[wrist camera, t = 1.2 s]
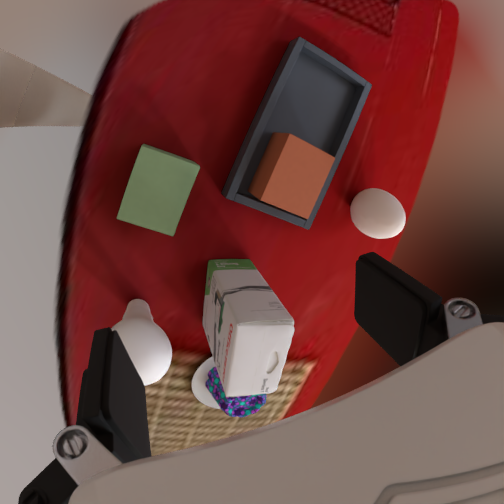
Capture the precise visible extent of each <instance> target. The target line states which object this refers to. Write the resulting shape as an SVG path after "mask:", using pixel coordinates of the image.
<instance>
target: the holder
mask: <svg viewBox="0 0 504 504" xmlns="http://www.w3.org/2000/svg"><path fill="white" fill-rule="evenodd" d="M371 86H372V85H371V84H370V83H369V82H368V81H366V80H365V79H363V78H362V77H361V76H359V75H358V74H357V73H355V72H354V71H352V70H351V69H349V68H348V67H347V66H345V65H344V64H342V63H341V62H339V61H338V60H336V59H335V58H333V57H332V56H330V55H329V54H327V53H326V52H324V51H322V50H321V49H319V48H318V47H316V46H314V45H313V44H311V43H309V42H308V41H306V40H305V39H303V38H301V37H297V38H296V39H294V40H292V41H290V43H289V45H288V47H287V49H286V51H285V53H284V55H283V58H282V60H281V62H280V64H279V66H278V68H277V70H276V72H275V74H274V76H273V78H272V80H271V82H270V84H269V87H268V89H267V91H266V93H265V95H264V97H263V99H262V102H261V104H260V106H259V108H258V110H257V112H256V115H255V117H254V119H253V121H252V123H251V126H250V128H249V130H248V132H247V134H246V137H245V139H244V141H243V144H242V146H241V148H240V150H239V153H238V155H237V157H236V160H235V162H234V164H233V167H232V169H231V171H230V174H229V176H228V178H227V181H226V183H225V185H224V188H223V190H222V193H221V194H222V195H223V196H224V197H225V198H227V199H230V200H232V201H235V202H238V203H241V204H243V205H246V206H249V207H251V208H254V209H256V210H259V211H262V212H264V213H267V214H270V215H272V216H275V217H277V218H280V219H283V220H285V221H288V222H290V223H293V224H295V225H298V226H300V227H303V228H305V229H308V230H309V229H310V227H311V224H312V222H313V220H314V218H315V216H316V214H317V211H318V209H319V207H320V205H321V203H322V200H323V198H324V196H325V194H326V192H327V189H328V187H329V185H330V183H331V180H332V178H333V176H334V174H335V171H336V169H337V167H338V165H339V162H340V160H341V158H342V155H343V153H344V151H345V149H346V146H347V144H348V142H349V139H350V137H351V134H352V132H353V130H354V127H355V125H356V123H357V120H358V118H359V115H360V113H361V111H362V108H363V106H364V103H365V101H366V98H367V96H368V94H369V91H370V89H371ZM273 132H277V133H290V134H292V135H294V136H296V137H298V138H300V139H302V140H304V141H306V142H308V143H309V144H311V145H313V146H315V147H317V148H319V149H321V150H322V151H324V152H326V153H328V154H330V155H331V156H333V157H335V160H334V162H333V165H332V167H331V169H330V172H329V174H328V176H327V178H326V181H325V183H324V185H323V187H322V189H321V192H320V194H319V196H318V198H317V201H316V203H315V205H314V207H313V209H312V211H311V214H310V216H309V218H308V219H306V218H303V217H301V216H298V215H296V214H294V213H291V212H289V211H286V210H284V209H281V208H279V207H276V206H274V205H271V204H269V203H266V202H264V201H261V200H260V199H258V198H257V197H255V196H254V195H252V194H251V193H249V192H248V189H249V186H250V184H251V182H252V179H253V177H254V175H255V172H256V170H257V168H258V166H259V163H260V161H261V159H262V156H263V154H264V152H265V150H266V147H267V145H268V143H269V141H270V138H271V136H272V134H273Z"/></svg>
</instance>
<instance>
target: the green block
mask: <svg viewBox="0 0 504 504" xmlns="http://www.w3.org/2000/svg"><path fill="white" fill-rule="evenodd" d="M199 169H200V166H199V165H198V164H196V163H195V162H194V161H191V160H188V159H186V158H183V157H180V156H177V155H175V154H172V153H169V152H166V151H163V150H160V149H158V148H155V147H152V146H149V145H146V144H143V145H142V146H141V148H140V151H139V154H138V156H137V159H136V162H135V164H134V167H133V170H132V173H131V176H130V178H129V181H128V184H127V187H126V190H125V193H124V196H123V199H122V203H121V206H120V209H119V212H118V215H117V219H119V220H122V221H125V222H128V223H132V224H135V225H138V226H141V227H144V228H148V229H151V230H154V231H157V232H161V233H164V234H167V235H170V236H174V233H175V231H176V228H177V225H178V222H179V220H180V217H181V214H182V212H183V209H184V206H185V204H186V201H187V199H188V196H189V194H190V191H191V188H192V186H193V183H194V181H195V178H196V176H197V173H198V171H199Z"/></svg>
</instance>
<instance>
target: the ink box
mask: <svg viewBox="0 0 504 504" xmlns="http://www.w3.org/2000/svg"><path fill="white" fill-rule="evenodd" d="M293 325H294V320H293V318H292V317H291V315H290V314H289V313H288V311H287V310H286V309H285V307H284V306H283V305H282V303H281V302H280V300H279V299H278V298H277V296H276V295H275V293H274V292H273V291H272V289H271V288H270V287H269V285H268V284H267V282H266V281H265V280H264V278H263V277H262V276H261V274H260V273H259V271H258V270H257V269H256V267H255V266H254V264H253V263H252V262H251V260H250V259H216V260H209V261H208V267H207V277H206V287H205V298H204V309H203V327H204V330H205V333H206V337H207V340H208V343H209V346H210V349H211V352H212V356H213V359H214V362H215V365H216V368H217V371H218V374H219V377H220V380H221V383H222V386H223V389H224V392H225V395H226V397H239V396H249V395H256V394H267V393H272V392H274V391H276V389H277V387H278V383H279V380H280V378H281V374H282V370H283V366H284V364H285V361H286V356H287V353H288V350H289V347H290V344H291V340H292V336H293V334H294V327H293Z"/></svg>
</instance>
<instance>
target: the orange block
mask: <svg viewBox="0 0 504 504" xmlns="http://www.w3.org/2000/svg"><path fill="white" fill-rule="evenodd" d="M334 160H335V157H333V156H331V155H330V154H328V153H326V152H324V151H322V150H321V149H319V148H317V147H315V146H313V145H311V144H309V143H308V142H306V141H304V140H302V139H300V138H298V137H296V136H294V135H292V134H290V133H277V132H273V134H272V136H271V138H270V141H269V143H268V145H267V147H266V150H265V152H264V154H263V156H262V159H261V161H260V163H259V166H258V168H257V170H256V172H255V175H254V177H253V179H252V182H251V184H250V186H249V189H248V192H249V193H251V194H252V195H254V196H255V197H257V198H258V199H260V200H261V201H264V202H266V203H269V204H271V205H274V206H276V207H279V208H281V209H284V210H286V211H289V212H291V213H294V214H296V215H298V216H301V217H303V218H306V219H308V218H309V216H310V214H311V211H312V209H313V207H314V205H315V203H316V201H317V198H318V196H319V194H320V192H321V189H322V187H323V185H324V183H325V181H326V178H327V176H328V174H329V172H330V169H331V167H332V165H333V162H334Z"/></svg>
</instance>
